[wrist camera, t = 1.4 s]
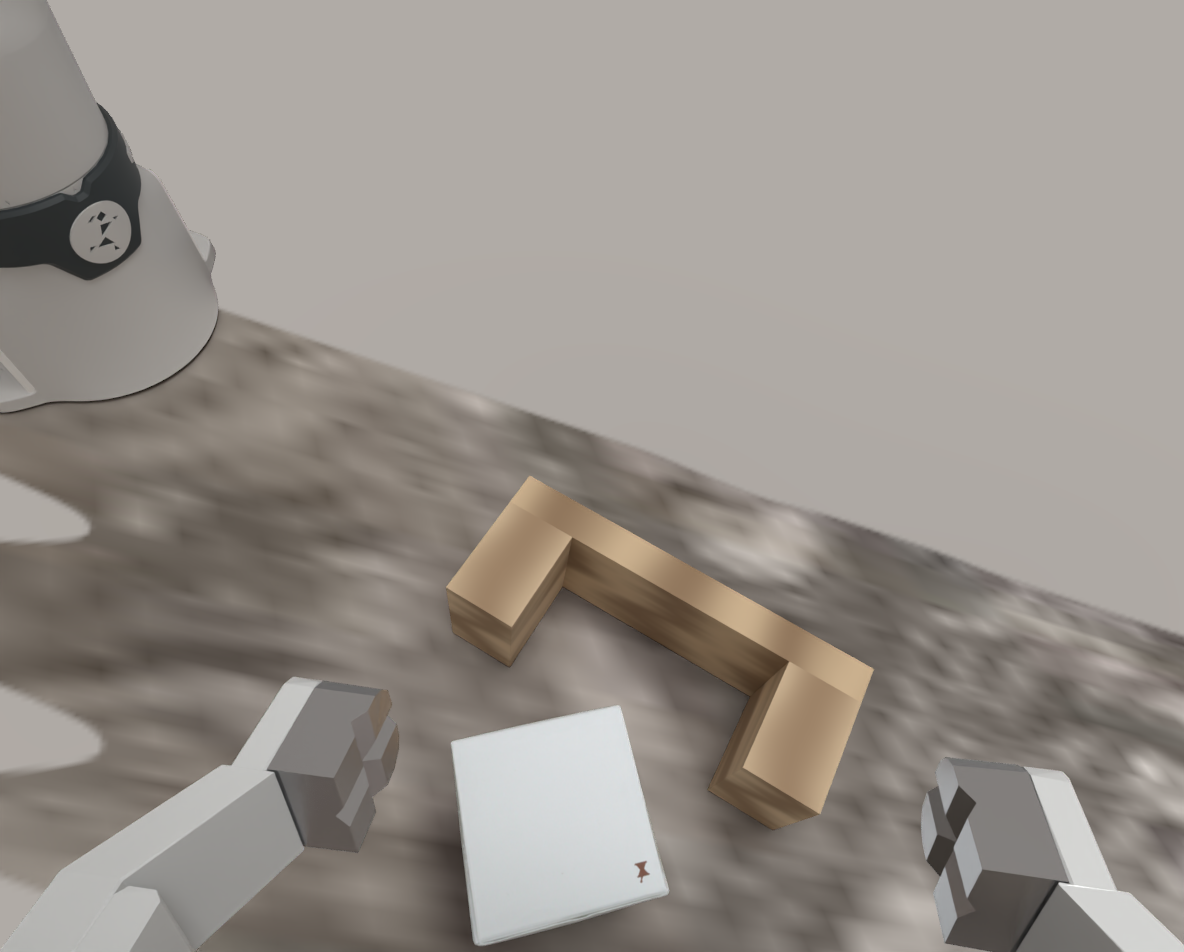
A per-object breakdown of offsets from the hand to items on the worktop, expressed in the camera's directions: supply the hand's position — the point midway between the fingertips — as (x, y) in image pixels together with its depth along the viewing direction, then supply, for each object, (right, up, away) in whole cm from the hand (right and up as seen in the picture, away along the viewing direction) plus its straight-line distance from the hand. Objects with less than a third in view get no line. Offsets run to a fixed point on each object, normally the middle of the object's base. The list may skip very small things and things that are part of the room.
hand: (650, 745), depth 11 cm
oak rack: (+2, -7, +33) cm, 34 cm away
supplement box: (-4, -15, +28) cm, 32 cm away
